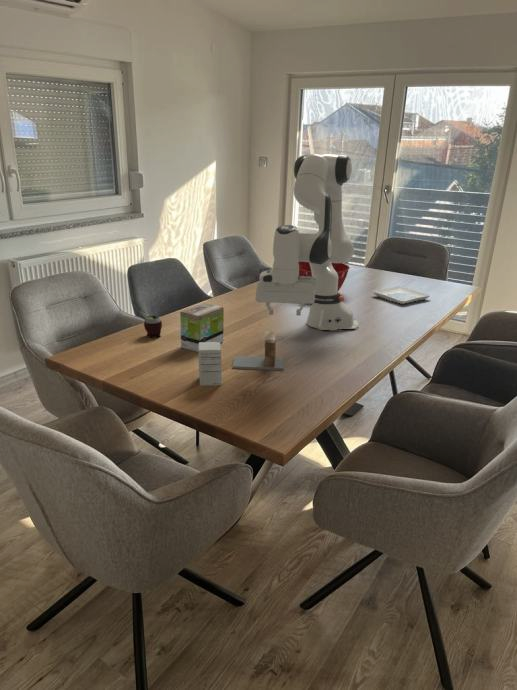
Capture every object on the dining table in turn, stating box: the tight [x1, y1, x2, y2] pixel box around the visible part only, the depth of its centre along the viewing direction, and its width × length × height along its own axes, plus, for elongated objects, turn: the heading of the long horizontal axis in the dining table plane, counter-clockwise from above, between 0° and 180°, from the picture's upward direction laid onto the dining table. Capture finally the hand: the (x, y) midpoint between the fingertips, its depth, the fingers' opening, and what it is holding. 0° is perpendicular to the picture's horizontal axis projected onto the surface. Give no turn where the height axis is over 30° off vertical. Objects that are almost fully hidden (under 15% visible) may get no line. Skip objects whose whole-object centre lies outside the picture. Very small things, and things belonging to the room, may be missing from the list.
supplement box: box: [197, 342, 223, 387], centre depth 174 cm, size 7×7×13 cm
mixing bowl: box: [298, 261, 351, 293], centre depth 274 cm, size 28×28×16 cm
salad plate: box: [371, 285, 431, 305], centre depth 271 cm, size 21×21×3 cm
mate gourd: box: [143, 298, 166, 339], centre depth 213 cm, size 8×8×15 cm
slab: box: [264, 331, 277, 367], centre depth 188 cm, size 4×8×10 cm, turn 176°
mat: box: [231, 355, 285, 371], centre depth 190 cm, size 18×10×1 cm, turn 86°
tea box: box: [179, 302, 225, 353], centre depth 204 cm, size 15×10×15 cm, turn 148°
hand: (284, 314), depth 183 cm, fingers open, 8 cm apart
